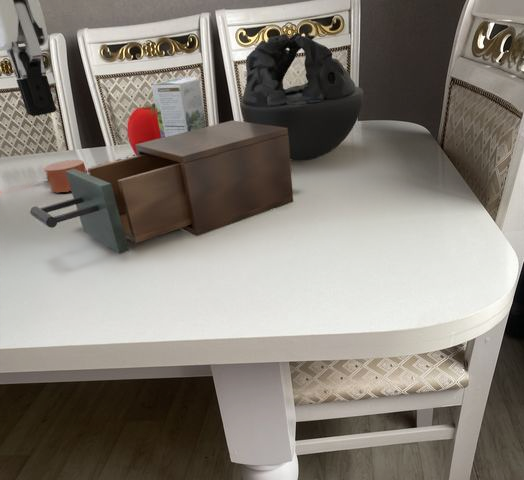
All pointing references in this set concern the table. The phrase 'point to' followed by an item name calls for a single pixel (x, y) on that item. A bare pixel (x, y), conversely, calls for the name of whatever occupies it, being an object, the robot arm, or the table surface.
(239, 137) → the cabinet
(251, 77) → the black sculpted bowl
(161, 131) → the syrup box
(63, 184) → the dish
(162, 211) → the drawer
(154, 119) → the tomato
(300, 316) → the table surface
